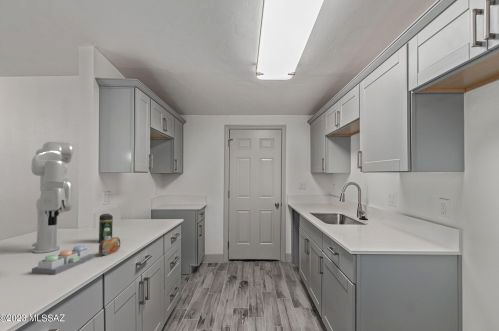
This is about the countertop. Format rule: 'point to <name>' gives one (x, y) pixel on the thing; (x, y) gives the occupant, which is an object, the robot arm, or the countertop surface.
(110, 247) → the tin
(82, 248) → the slate button
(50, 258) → the green button
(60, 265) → the button panel
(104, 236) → the coffee jar
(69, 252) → the terracotta button
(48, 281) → the countertop surface
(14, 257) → the countertop surface
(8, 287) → the countertop surface
